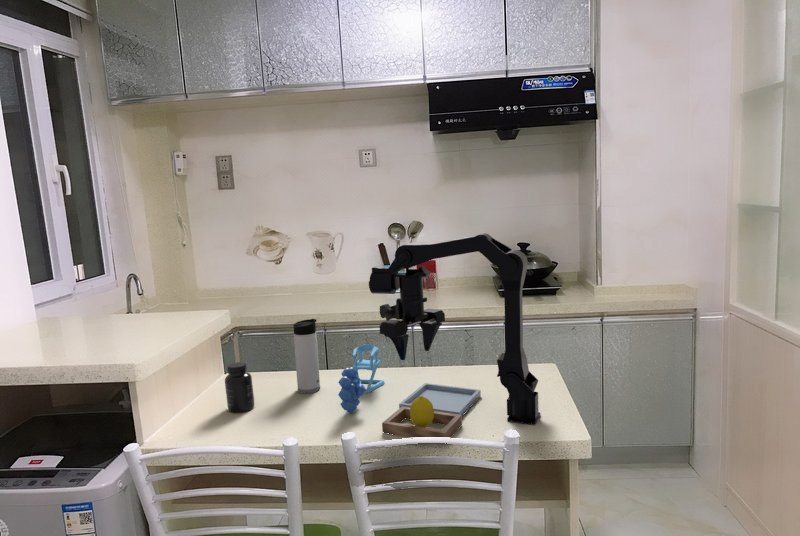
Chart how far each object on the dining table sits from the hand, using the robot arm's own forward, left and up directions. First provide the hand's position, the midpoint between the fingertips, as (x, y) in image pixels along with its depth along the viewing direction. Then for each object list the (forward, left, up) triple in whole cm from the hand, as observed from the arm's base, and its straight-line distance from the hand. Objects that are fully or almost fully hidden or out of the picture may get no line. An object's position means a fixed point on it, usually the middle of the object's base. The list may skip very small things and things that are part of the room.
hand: (415, 355), depth 140 cm
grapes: (+13, +9, -14) cm, 21 cm away
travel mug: (+34, -1, -14) cm, 37 cm away
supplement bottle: (+43, +17, -14) cm, 48 cm away
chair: (+19, -8, -14) cm, 25 cm away
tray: (-5, -4, -14) cm, 15 cm away
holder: (-7, +12, -14) cm, 19 cm away
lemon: (-7, +12, -14) cm, 19 cm away
